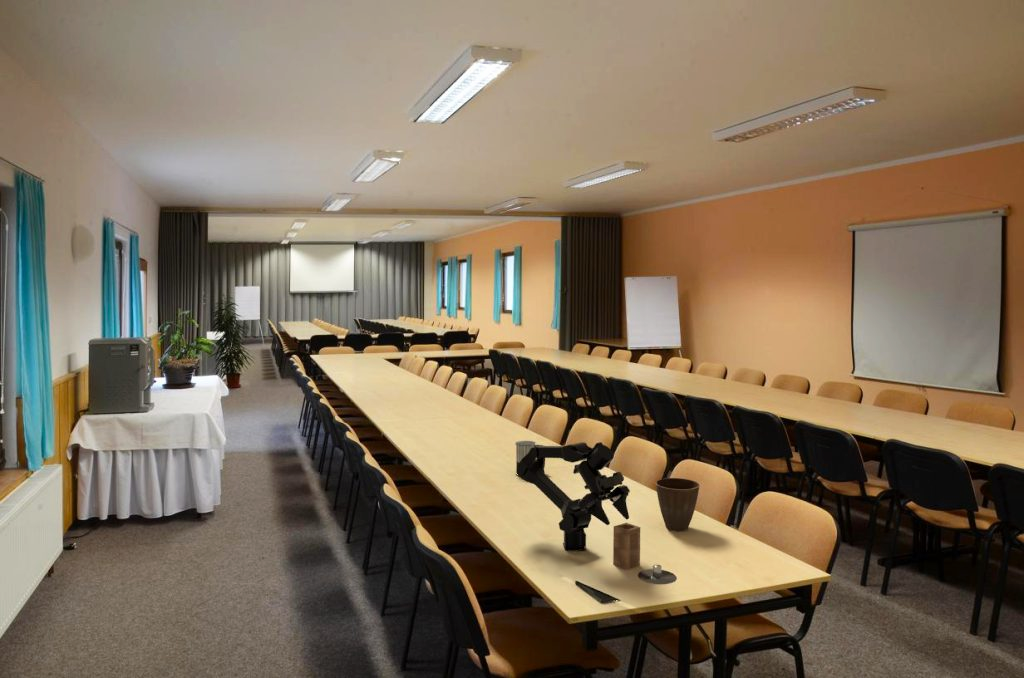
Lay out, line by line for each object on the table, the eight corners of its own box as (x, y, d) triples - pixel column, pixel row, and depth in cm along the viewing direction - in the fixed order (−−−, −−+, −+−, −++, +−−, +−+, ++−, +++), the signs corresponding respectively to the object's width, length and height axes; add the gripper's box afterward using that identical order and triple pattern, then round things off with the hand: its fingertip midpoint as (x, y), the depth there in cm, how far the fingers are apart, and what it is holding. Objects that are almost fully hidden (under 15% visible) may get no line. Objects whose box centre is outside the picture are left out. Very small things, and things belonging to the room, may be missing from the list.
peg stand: (629, 578, 207) (629, 565, 206) (654, 569, 214) (654, 556, 213) (660, 590, 198) (660, 576, 198) (684, 580, 205) (684, 567, 205)
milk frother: (521, 478, 320) (521, 445, 319) (504, 470, 333) (504, 439, 332) (548, 474, 327) (548, 442, 326) (530, 467, 340) (530, 436, 339)
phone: (597, 576, 207) (626, 595, 193) (597, 580, 207) (626, 599, 193) (573, 580, 203) (601, 601, 190) (573, 584, 203) (601, 605, 190)
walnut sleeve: (613, 565, 215) (613, 526, 214) (625, 561, 219) (626, 522, 218) (627, 571, 211) (627, 531, 210) (639, 566, 214) (640, 527, 213)
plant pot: (697, 537, 242) (698, 490, 241) (653, 532, 246) (653, 487, 245) (699, 523, 256) (700, 479, 255) (657, 519, 261) (657, 476, 260)
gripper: (587, 467, 214) (614, 513, 206) (626, 459, 226) (653, 502, 219) (567, 487, 220) (592, 532, 212) (606, 478, 232) (631, 521, 225)
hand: (618, 521), depth 217 cm, fingers open, 9 cm apart
